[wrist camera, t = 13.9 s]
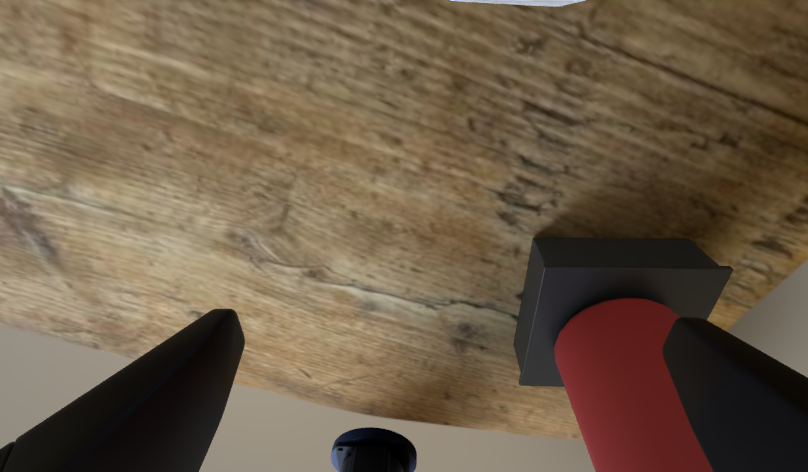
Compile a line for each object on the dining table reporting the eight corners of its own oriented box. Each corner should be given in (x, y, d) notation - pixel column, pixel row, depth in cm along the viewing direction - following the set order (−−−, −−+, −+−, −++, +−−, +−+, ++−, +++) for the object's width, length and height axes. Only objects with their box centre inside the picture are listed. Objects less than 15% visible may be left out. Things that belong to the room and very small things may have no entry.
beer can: (587, 391, 24) (712, 689, 13) (527, 331, 21) (623, 638, 11) (697, 342, 21) (956, 664, 11) (643, 268, 19) (907, 590, 8)
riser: (644, 349, 26) (670, 389, 23) (509, 346, 26) (519, 385, 24) (694, 235, 21) (734, 269, 18) (529, 234, 22) (544, 267, 19)
